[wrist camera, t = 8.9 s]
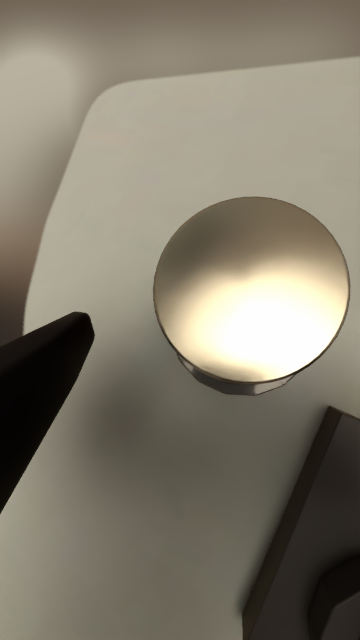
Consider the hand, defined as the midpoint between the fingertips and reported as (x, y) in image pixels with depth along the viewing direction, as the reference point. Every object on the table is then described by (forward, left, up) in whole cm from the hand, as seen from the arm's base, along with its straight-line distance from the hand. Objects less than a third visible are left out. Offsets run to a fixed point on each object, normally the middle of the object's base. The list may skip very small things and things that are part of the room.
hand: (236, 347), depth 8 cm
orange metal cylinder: (+1, 0, -8) cm, 9 cm away
